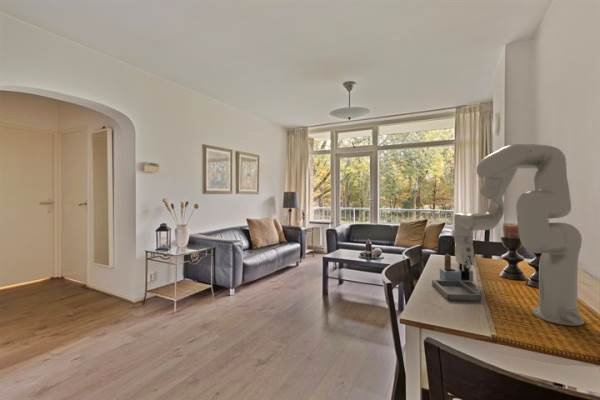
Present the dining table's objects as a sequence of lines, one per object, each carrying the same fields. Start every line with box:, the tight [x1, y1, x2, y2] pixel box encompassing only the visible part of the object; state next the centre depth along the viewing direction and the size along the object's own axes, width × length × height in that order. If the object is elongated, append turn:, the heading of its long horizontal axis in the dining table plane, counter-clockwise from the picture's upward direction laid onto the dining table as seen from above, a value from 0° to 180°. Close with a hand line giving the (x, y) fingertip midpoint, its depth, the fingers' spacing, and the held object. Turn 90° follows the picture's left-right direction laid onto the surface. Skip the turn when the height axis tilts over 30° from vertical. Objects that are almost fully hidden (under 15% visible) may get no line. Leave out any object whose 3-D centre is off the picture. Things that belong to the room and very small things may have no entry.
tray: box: [431, 279, 482, 303], centre depth 121 cm, size 19×12×2 cm, turn 172°
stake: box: [444, 253, 452, 271], centre depth 137 cm, size 3×3×13 cm
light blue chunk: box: [439, 267, 474, 283], centre depth 136 cm, size 7×13×5 cm, turn 82°
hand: (464, 278), depth 136 cm, fingers closed on light blue chunk
